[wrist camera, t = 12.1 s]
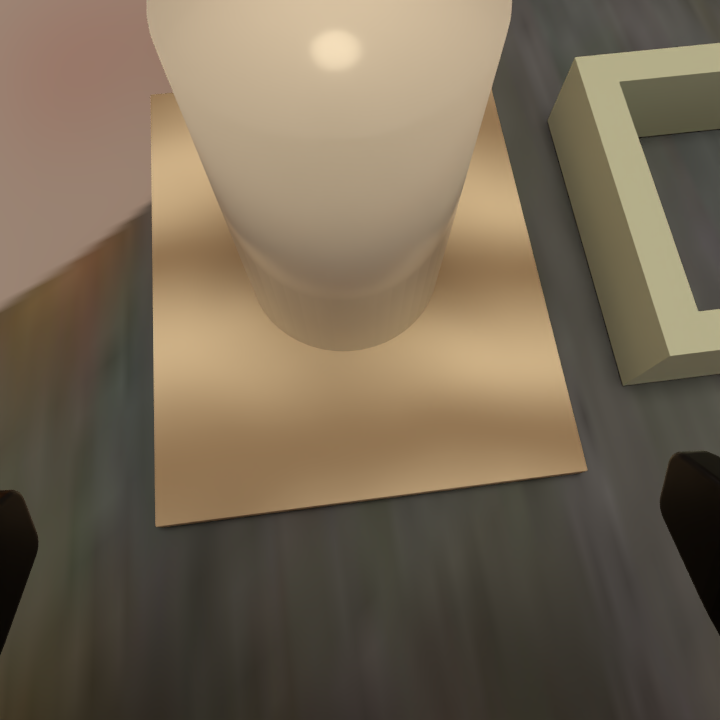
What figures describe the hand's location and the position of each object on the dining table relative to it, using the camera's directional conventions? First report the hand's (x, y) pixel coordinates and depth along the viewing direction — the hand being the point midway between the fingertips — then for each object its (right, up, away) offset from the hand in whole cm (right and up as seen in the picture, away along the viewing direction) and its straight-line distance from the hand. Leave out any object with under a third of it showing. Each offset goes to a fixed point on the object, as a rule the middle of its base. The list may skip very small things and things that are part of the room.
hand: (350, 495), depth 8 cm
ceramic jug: (0, +5, +12) cm, 13 cm away
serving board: (0, +5, +12) cm, 13 cm away
